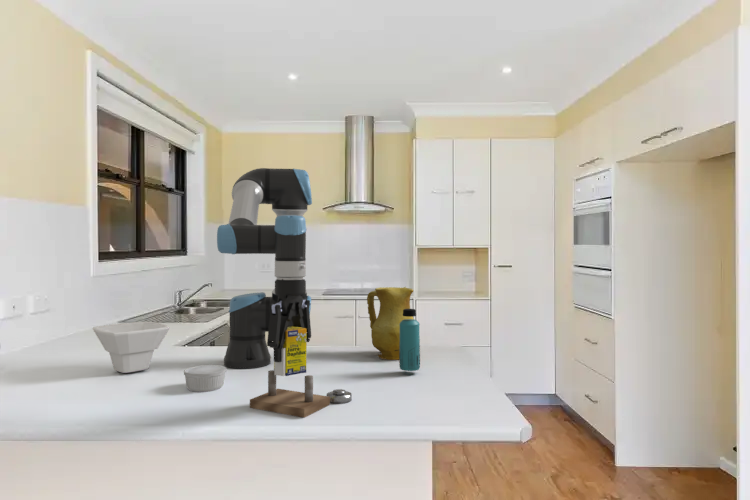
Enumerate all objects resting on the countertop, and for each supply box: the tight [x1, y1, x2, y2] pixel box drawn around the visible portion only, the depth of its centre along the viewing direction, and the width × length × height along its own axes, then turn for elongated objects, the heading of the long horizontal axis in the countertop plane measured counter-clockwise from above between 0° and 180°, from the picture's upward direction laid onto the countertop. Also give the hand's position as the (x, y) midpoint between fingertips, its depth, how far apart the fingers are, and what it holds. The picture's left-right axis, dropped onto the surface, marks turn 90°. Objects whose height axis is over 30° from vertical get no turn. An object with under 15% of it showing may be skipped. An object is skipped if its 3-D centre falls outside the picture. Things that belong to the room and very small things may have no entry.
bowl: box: [92, 321, 170, 374], centre depth 164 cm, size 19×19×14 cm
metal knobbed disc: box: [326, 388, 353, 405], centre depth 135 cm, size 6×6×2 cm
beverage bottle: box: [398, 308, 421, 372], centre depth 162 cm, size 6×7×20 cm
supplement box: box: [283, 326, 308, 377], centre depth 129 cm, size 6×6×11 cm
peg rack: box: [249, 369, 331, 418], centre depth 129 cm, size 16×11×8 cm
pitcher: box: [366, 286, 414, 361], centre depth 188 cm, size 17×19×25 cm
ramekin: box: [183, 364, 227, 393], centre depth 146 cm, size 11×11×5 cm
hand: (290, 371), depth 129 cm, fingers closed on supplement box, 7 cm apart
